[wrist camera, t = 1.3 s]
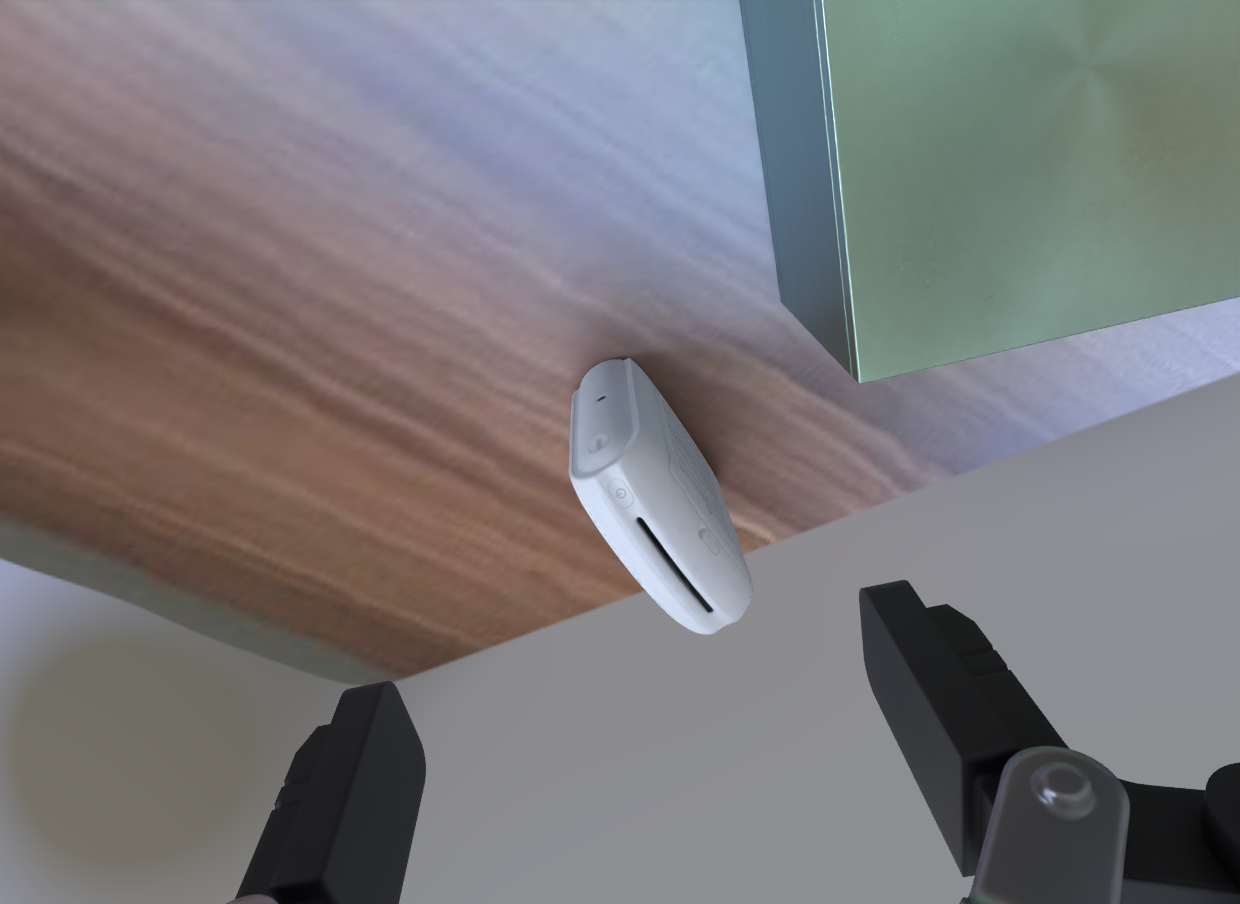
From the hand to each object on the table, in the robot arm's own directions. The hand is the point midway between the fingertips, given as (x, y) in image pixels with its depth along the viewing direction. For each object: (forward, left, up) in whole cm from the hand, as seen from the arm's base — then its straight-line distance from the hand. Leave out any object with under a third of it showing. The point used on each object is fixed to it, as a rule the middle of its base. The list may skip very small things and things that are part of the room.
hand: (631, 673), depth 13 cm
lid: (-6, +17, -16) cm, 24 cm away
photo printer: (+8, +1, -27) cm, 29 cm away
